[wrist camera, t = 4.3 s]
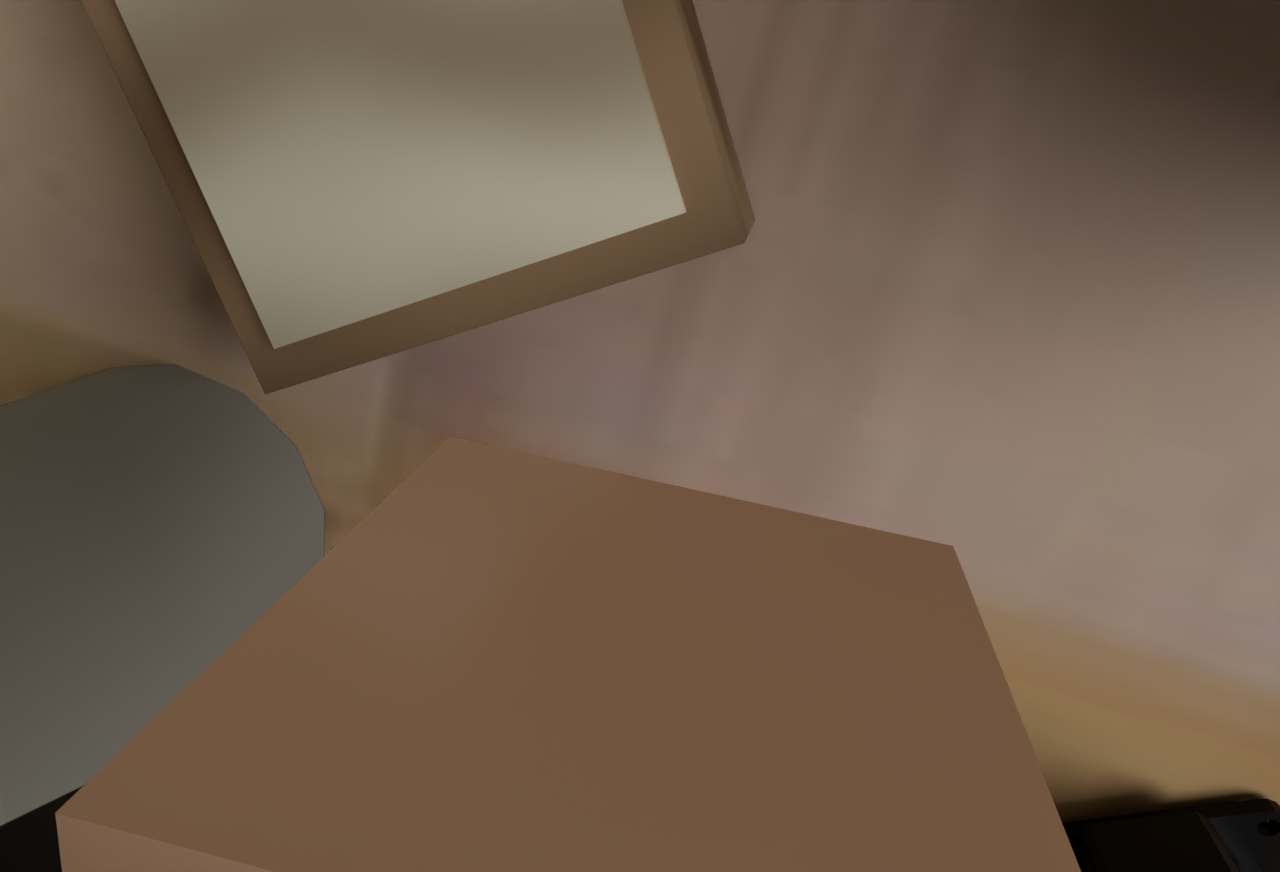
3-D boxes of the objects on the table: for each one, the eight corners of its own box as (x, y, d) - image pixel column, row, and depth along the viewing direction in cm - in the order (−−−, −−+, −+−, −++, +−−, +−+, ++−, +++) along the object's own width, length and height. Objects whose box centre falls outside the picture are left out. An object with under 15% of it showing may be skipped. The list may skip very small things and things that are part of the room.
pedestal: (754, 219, 18) (743, 244, 14) (359, 347, 21) (258, 397, 17) (602, -313, 16) (538, -462, 12) (170, -92, 18) (-2, -154, 14)
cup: (-4, 489, 24) (-496, 706, 15) (146, 297, 22) (-348, 422, 12) (216, 691, 26) (-117, 1012, 16) (386, 535, 23) (100, 815, 13)
